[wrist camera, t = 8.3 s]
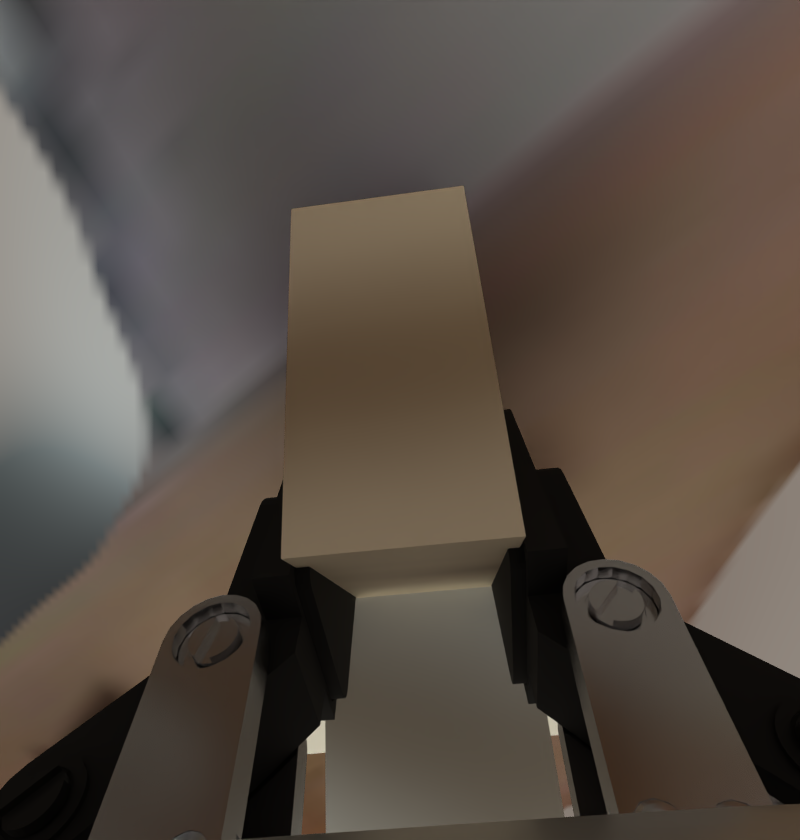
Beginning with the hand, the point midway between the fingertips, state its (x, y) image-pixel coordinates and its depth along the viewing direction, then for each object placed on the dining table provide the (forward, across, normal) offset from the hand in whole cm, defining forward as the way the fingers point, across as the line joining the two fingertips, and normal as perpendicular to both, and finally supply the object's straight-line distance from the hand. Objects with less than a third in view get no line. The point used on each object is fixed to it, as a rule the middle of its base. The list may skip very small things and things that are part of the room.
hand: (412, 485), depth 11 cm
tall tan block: (0, 0, +2) cm, 2 cm away
